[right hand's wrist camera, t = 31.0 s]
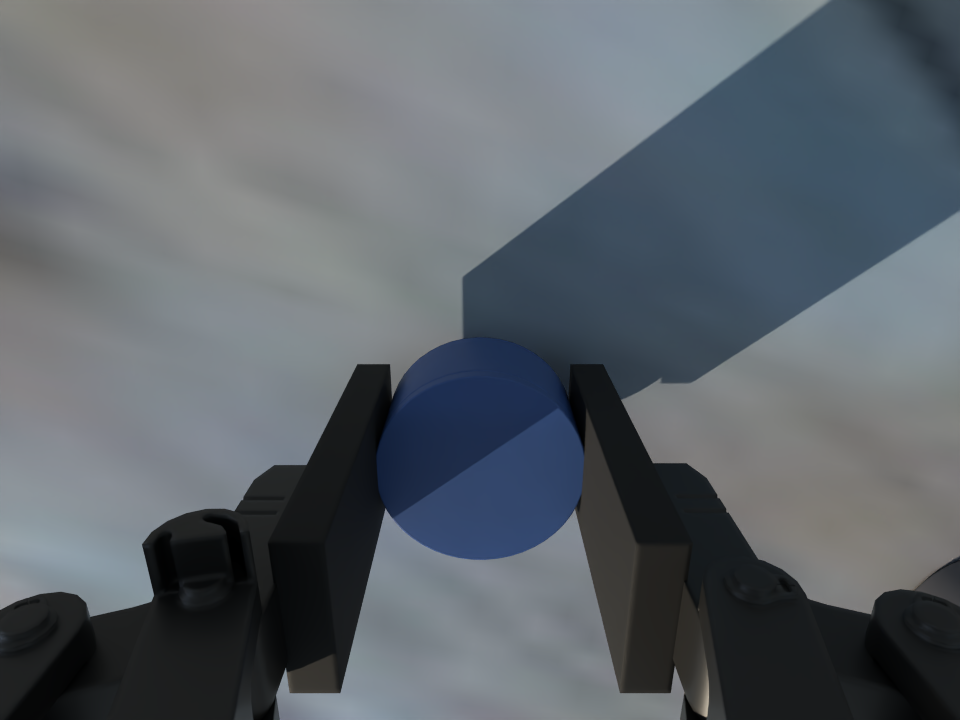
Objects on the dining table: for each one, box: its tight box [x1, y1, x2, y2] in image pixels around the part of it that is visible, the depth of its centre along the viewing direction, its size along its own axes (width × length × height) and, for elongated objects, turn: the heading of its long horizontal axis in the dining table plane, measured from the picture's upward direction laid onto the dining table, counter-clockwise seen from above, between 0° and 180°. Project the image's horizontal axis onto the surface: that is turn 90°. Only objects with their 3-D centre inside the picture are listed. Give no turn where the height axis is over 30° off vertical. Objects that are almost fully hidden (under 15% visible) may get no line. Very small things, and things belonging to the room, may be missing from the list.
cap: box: [376, 337, 584, 560], centre depth 14 cm, size 4×4×2 cm
